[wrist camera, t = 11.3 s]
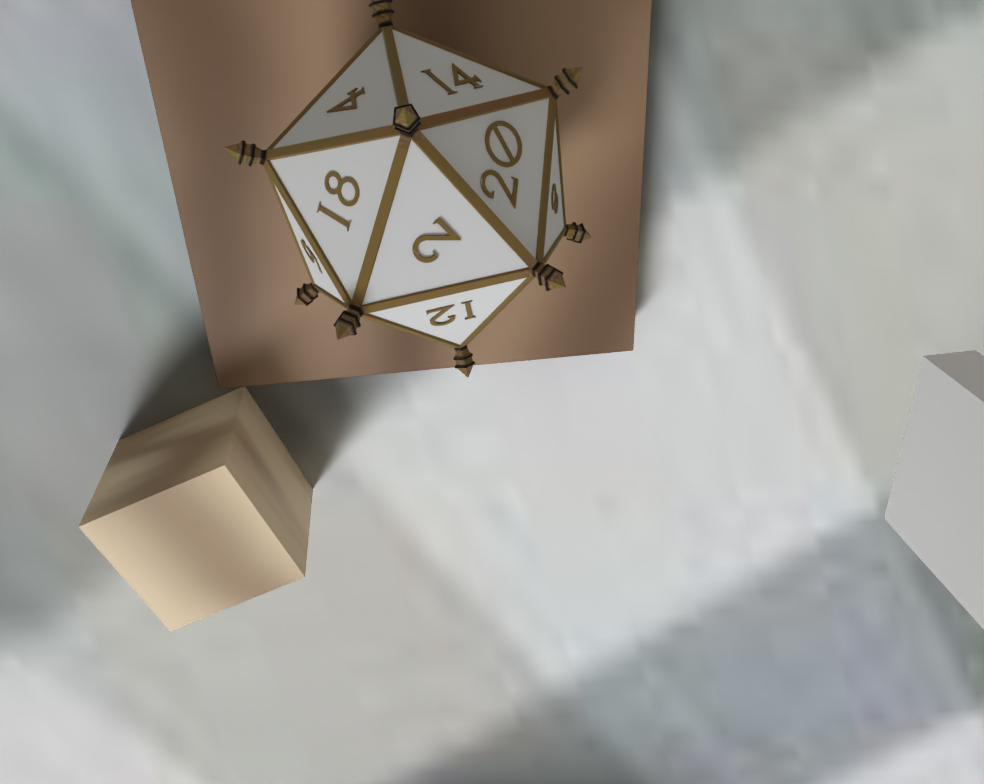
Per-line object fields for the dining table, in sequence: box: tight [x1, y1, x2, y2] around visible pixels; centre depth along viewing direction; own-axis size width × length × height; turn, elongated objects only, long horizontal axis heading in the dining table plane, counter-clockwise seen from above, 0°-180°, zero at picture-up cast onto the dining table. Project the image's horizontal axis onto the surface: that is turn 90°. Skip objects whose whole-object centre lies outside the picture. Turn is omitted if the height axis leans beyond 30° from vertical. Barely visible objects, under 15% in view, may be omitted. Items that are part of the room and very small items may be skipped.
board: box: [131, 0, 652, 389], centre depth 26 cm, size 14×14×2 cm
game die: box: [224, 0, 591, 377], centre depth 22 cm, size 9×8×10 cm
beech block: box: [79, 387, 313, 631], centre depth 29 cm, size 5×5×5 cm
